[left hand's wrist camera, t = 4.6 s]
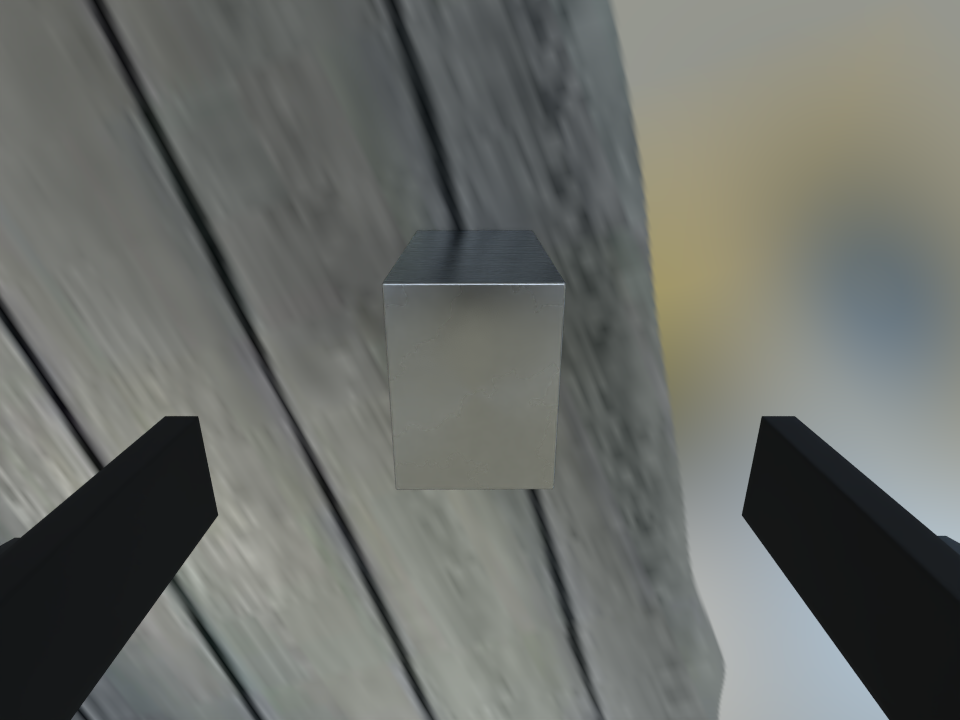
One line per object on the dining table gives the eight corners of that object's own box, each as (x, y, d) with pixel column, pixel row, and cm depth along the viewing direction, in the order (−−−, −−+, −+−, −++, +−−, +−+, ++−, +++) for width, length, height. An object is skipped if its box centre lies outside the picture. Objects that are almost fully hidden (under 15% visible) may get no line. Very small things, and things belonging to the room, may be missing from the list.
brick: (416, 230, 23) (381, 283, 15) (532, 230, 23) (566, 282, 15) (422, 373, 26) (395, 490, 17) (528, 372, 26) (553, 489, 17)
